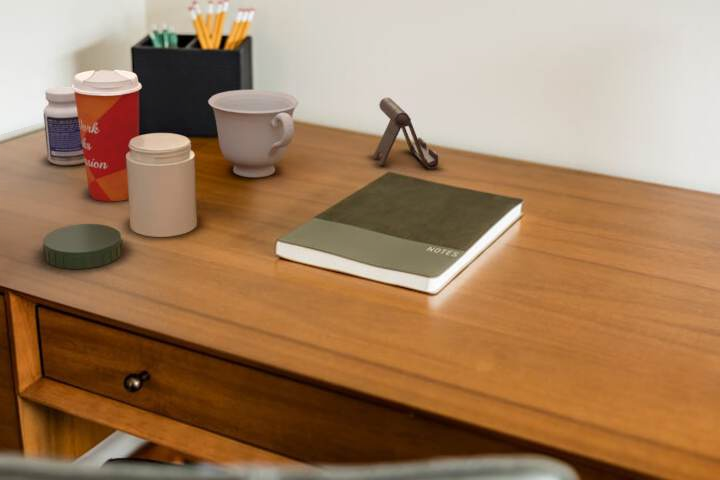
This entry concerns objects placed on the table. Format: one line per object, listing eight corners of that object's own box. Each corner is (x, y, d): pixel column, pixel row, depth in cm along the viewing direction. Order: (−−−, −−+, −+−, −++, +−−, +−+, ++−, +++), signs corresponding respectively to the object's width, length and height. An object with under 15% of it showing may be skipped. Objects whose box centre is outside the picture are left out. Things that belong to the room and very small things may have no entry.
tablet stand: (438, 169, 128) (442, 112, 124) (384, 171, 126) (387, 113, 123) (420, 151, 135) (424, 96, 132) (369, 153, 134) (372, 97, 131)
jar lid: (138, 252, 97) (137, 236, 96) (76, 276, 91) (74, 259, 90) (90, 233, 101) (89, 218, 101) (28, 255, 95) (26, 238, 95)
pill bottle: (99, 161, 125) (93, 90, 122) (61, 169, 121) (54, 96, 118) (77, 151, 129) (71, 83, 125) (40, 159, 125) (33, 88, 121)
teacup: (250, 197, 114) (249, 121, 110) (194, 166, 125) (191, 95, 121) (327, 181, 121) (329, 109, 117) (267, 153, 132) (267, 85, 128)
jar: (127, 238, 101) (121, 151, 97) (132, 213, 108) (127, 131, 104) (196, 236, 102) (193, 150, 98) (197, 212, 109) (194, 131, 105)
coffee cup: (79, 185, 116) (69, 69, 110) (144, 180, 118) (137, 67, 113) (81, 207, 109) (71, 84, 103) (151, 202, 111) (144, 82, 105)
